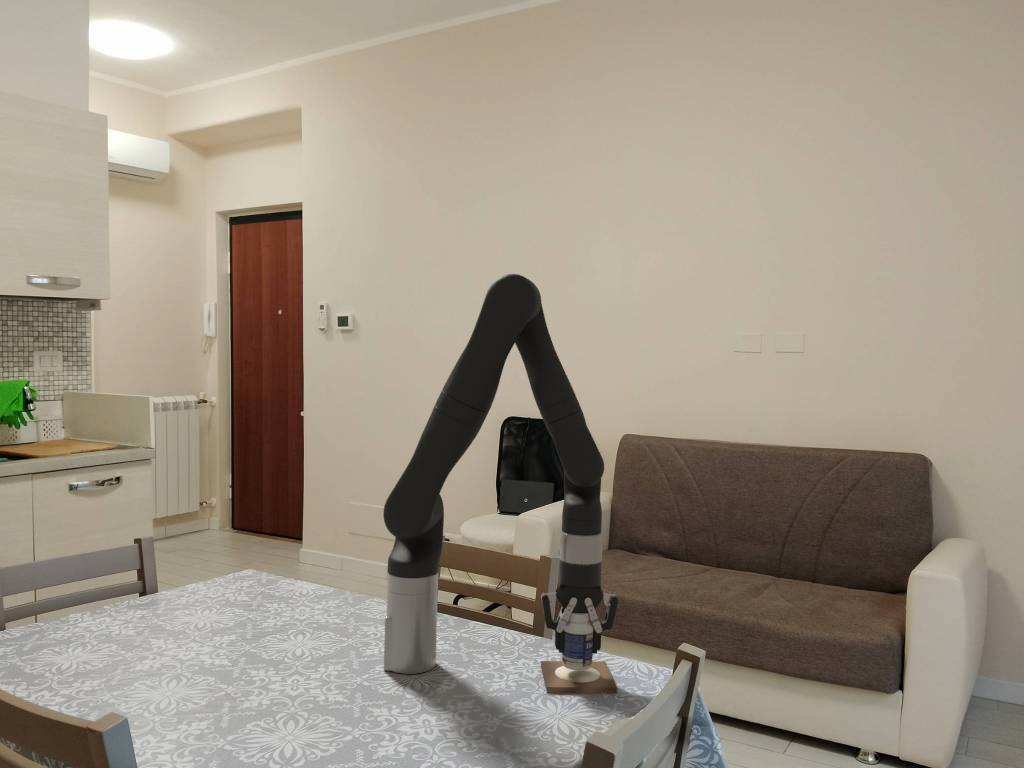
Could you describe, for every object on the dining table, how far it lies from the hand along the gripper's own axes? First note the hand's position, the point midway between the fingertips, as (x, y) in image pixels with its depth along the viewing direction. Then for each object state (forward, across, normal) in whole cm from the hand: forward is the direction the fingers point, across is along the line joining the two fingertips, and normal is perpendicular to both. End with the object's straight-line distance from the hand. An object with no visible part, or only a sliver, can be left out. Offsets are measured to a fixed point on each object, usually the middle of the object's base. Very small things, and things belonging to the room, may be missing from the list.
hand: (577, 651), depth 142 cm
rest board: (+5, 0, 0) cm, 5 cm away
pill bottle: (+3, 0, 0) cm, 3 cm away
